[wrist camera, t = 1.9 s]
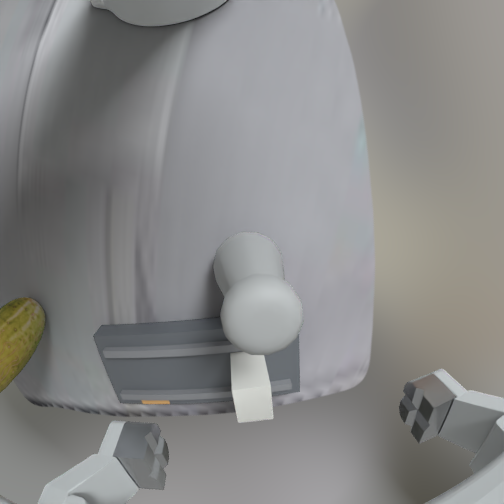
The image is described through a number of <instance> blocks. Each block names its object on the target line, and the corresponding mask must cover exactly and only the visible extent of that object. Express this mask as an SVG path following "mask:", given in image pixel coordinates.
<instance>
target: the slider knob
mask: <svg viewBox="0 0 504 504" xmlns="http://www.w3.org/2000/svg"><path fill="white" fill-rule="evenodd" d="M230 358H231V385H232V394H233V400H234V405H235V410H236V415H237V419H238V423H243V422H252V421H260V420H268V419H273V407H272V394H271V384H270V380H269V375H268V371H267V366H266V362H265V357H264V355H250V354H248V353H246V352H234V353H230Z"/></svg>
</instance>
